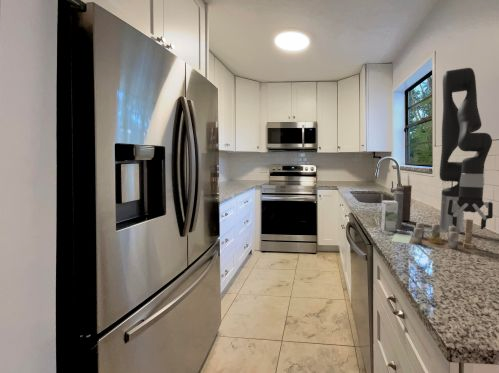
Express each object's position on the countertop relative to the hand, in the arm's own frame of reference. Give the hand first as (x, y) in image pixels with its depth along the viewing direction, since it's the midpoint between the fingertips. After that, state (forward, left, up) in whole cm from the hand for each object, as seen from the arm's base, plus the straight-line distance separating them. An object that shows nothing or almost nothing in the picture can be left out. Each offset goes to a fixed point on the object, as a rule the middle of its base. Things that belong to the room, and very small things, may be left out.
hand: (468, 227), depth 125 cm
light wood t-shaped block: (0, 0, -7) cm, 7 cm away
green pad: (+12, -20, -8) cm, 25 cm away
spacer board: (+4, -8, -8) cm, 12 cm away
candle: (-27, -49, -9) cm, 57 cm away
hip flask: (-13, -41, -9) cm, 44 cm away
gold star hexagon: (+5, -9, -7) cm, 13 cm away
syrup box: (+1, -35, -9) cm, 36 cm away
